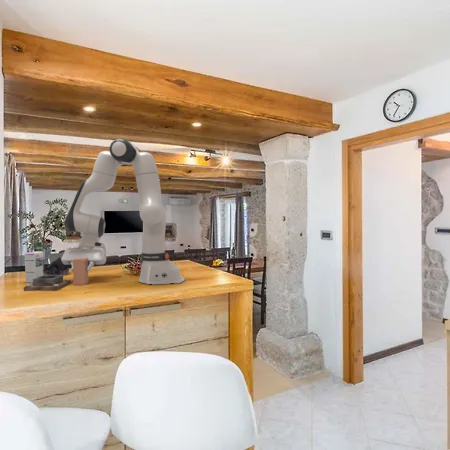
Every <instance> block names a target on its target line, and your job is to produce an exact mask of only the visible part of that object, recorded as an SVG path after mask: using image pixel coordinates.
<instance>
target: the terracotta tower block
mask: <svg viewBox="0 0 450 450" xmlns="http://www.w3.org/2000/svg"><path fill="white" fill-rule="evenodd" d="M87 260H88V258H76V259H73V271H72V275H73V277H72V279H73V281H72V282H73V286H85V285H87V284H89V271H86V270H85V269H86V266H89V264H88V261H87Z"/></svg>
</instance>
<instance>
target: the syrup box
mask: <svg viewBox="0 0 450 450" xmlns="http://www.w3.org/2000/svg"><path fill="white" fill-rule="evenodd" d="M44 255H45V253H44V251H41V250H39V251H36V250H35V251H29V252H25V253H24V270H25V283H28V284H33V279H34V278H37V277H40V276H42V275H44V268H45V259H44V258H45V257H44Z"/></svg>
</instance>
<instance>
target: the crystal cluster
mask: <svg viewBox="0 0 450 450" xmlns="http://www.w3.org/2000/svg"><path fill="white" fill-rule="evenodd" d="M61 258H62V257H58V258H56V259H55V260H53V261H51V262H50V263H49V264H48V265H46V266H44V275H63V276H66V275H68V274H69V270H70V267H71V265H65V264H63V263H62V261H61Z"/></svg>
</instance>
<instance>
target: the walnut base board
mask: <svg viewBox="0 0 450 450" xmlns="http://www.w3.org/2000/svg"><path fill="white" fill-rule="evenodd" d="M71 284H72V281H71V280H70V278H65V279H64V275H42V276H40V277H37V278H34V279H33V283H28V284H25V285H24V287H23V292H27V291H29V292H32V291H34V292H35V291H36V292H37V291H38V292H39V291H43V292H44V291H60V290H61V289H63V288H65V287H67V286H69V285H71Z"/></svg>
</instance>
